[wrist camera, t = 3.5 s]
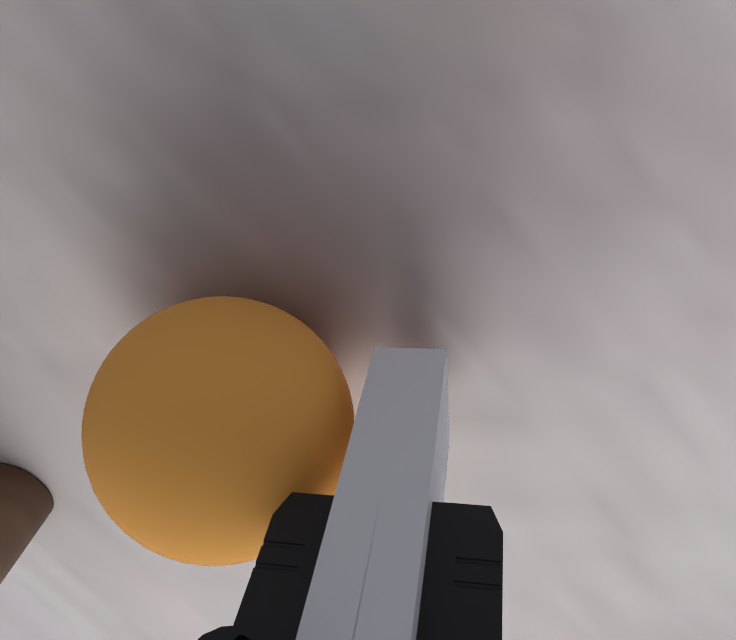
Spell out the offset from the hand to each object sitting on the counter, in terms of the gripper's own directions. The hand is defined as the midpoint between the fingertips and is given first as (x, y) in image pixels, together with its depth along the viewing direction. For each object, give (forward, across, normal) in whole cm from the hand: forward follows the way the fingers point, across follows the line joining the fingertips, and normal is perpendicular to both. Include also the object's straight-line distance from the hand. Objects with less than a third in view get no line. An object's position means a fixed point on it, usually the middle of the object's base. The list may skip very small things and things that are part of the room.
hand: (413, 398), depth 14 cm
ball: (-1, -4, 0) cm, 4 cm away
